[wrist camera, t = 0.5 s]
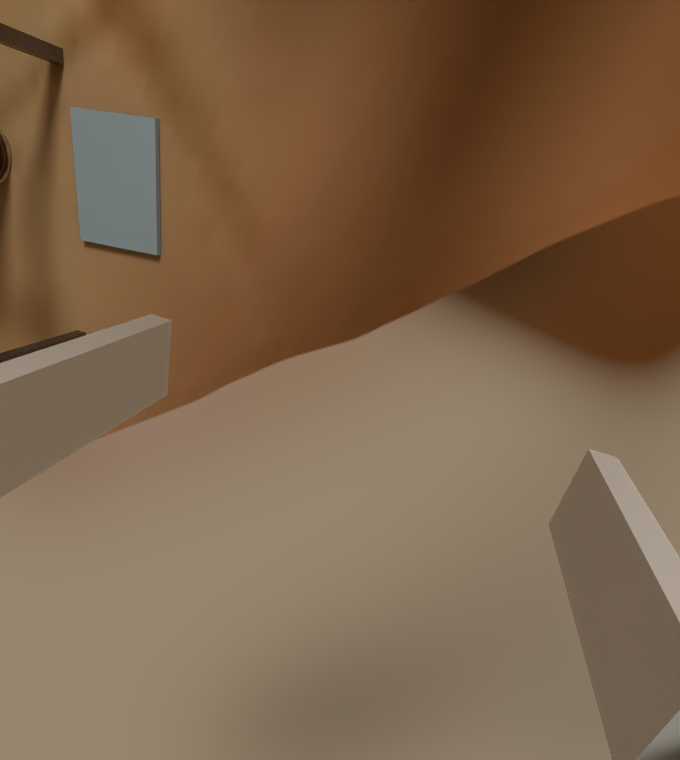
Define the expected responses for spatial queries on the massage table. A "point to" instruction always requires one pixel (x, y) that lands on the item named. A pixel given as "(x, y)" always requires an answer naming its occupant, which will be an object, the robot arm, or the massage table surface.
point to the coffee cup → (4, 157)
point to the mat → (117, 179)
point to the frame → (53, 55)
